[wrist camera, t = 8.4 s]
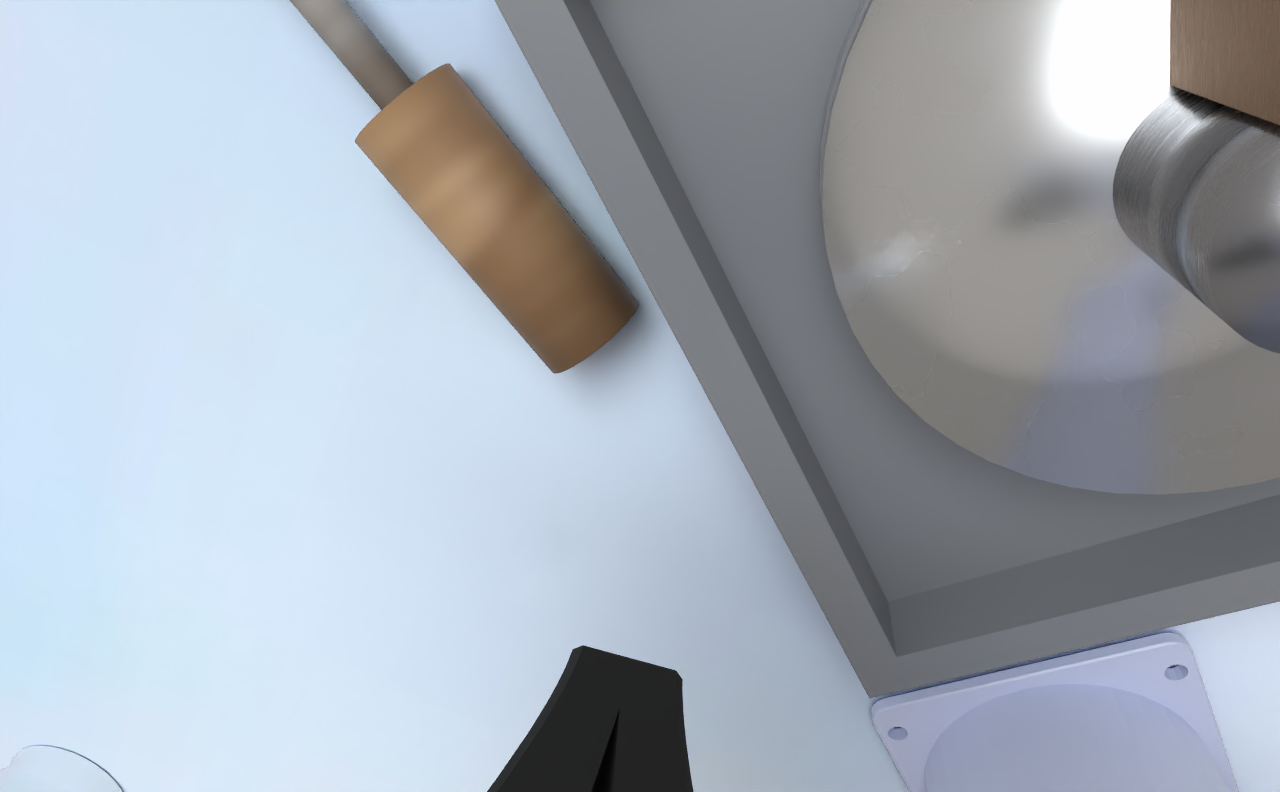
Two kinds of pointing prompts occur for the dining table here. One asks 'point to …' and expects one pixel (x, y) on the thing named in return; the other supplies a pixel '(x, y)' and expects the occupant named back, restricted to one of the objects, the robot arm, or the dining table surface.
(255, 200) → the dining table surface
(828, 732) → the dining table surface
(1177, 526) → the tray
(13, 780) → the cup with straw
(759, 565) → the dining table surface
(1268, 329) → the dial
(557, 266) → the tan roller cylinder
